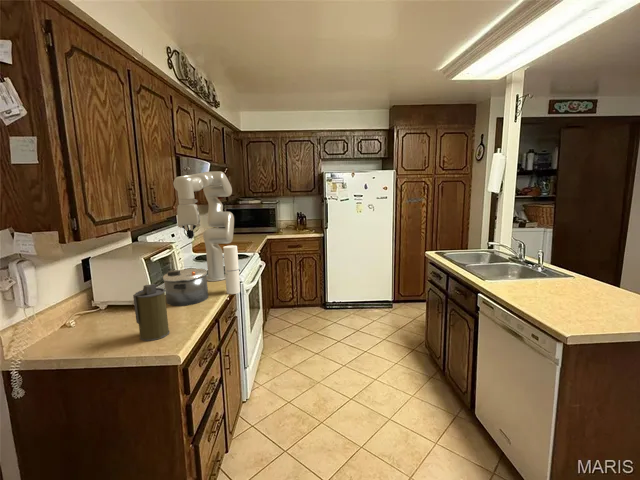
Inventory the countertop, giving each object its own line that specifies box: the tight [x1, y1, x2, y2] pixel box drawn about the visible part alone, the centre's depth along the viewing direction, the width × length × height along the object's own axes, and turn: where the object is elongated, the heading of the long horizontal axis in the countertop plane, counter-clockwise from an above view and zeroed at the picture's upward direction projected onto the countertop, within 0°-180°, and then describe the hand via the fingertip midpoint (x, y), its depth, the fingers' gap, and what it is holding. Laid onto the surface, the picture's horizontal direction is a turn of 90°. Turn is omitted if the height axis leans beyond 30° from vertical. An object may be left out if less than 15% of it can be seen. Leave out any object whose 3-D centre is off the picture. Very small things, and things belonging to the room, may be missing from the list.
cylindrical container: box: [222, 245, 241, 295], centre depth 178 cm, size 7×7×25 cm
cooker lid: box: [162, 268, 208, 282], centre depth 168 cm, size 21×21×3 cm
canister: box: [133, 283, 170, 342], centre depth 127 cm, size 11×10×20 cm
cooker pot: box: [163, 274, 209, 307], centre depth 169 cm, size 24×20×12 cm
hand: (190, 238), depth 170 cm, fingers closed
